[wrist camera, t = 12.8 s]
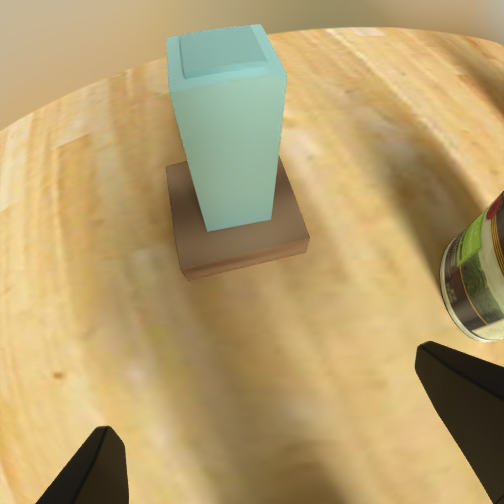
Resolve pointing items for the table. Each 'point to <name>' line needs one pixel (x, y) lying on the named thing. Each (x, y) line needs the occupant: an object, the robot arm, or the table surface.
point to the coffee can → (477, 276)
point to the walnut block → (232, 229)
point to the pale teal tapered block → (229, 119)
